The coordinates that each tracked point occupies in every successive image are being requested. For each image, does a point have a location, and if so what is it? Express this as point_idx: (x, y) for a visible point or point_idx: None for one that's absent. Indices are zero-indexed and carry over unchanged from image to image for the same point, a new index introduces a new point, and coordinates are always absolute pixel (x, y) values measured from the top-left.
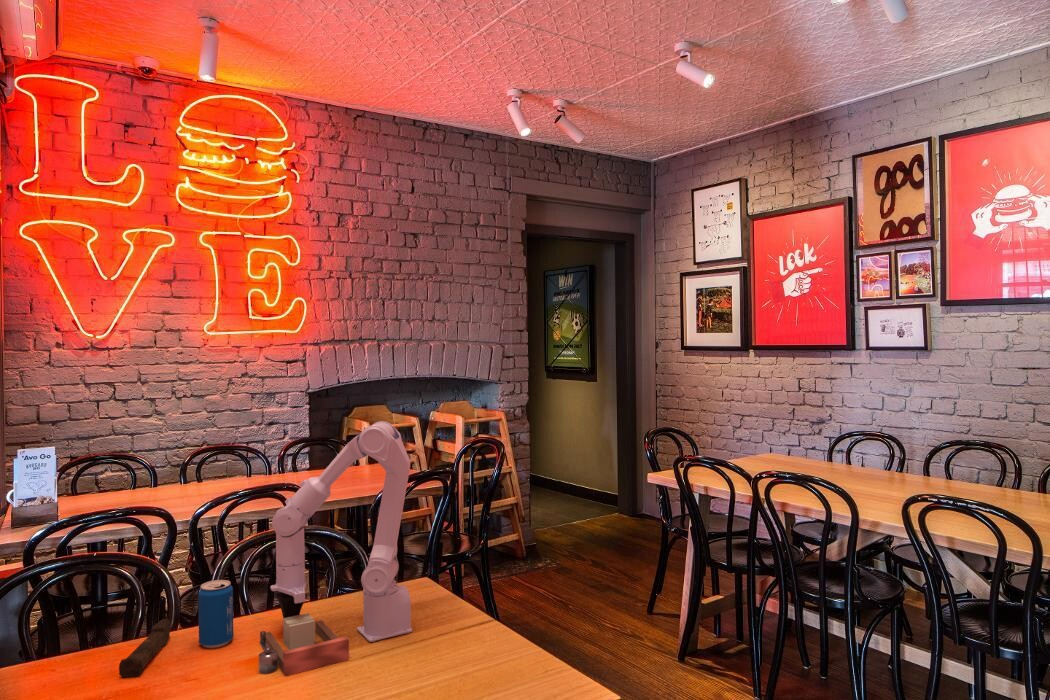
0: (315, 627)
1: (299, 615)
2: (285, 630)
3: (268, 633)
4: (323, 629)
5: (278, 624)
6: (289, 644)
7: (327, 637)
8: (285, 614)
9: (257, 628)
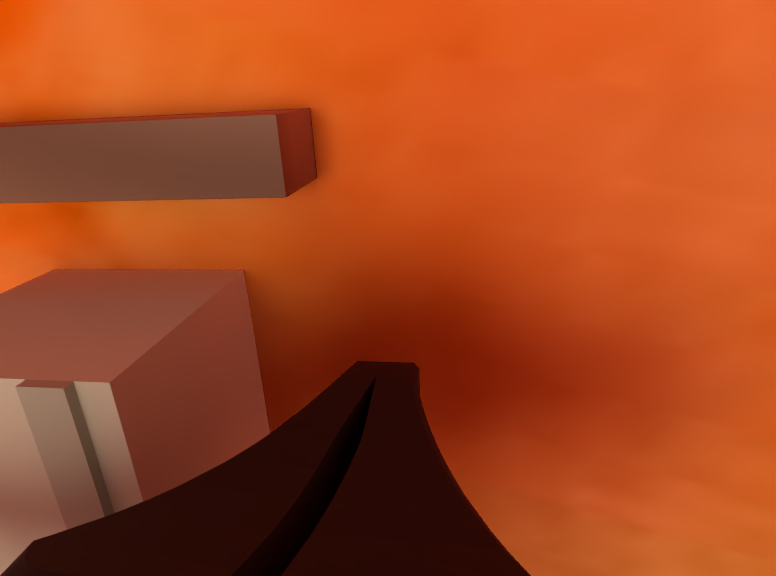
0: None
1: None
2: (84, 325)
3: (238, 167)
4: None
5: (706, 336)
6: (19, 288)
7: None
8: (261, 442)
9: (766, 126)
